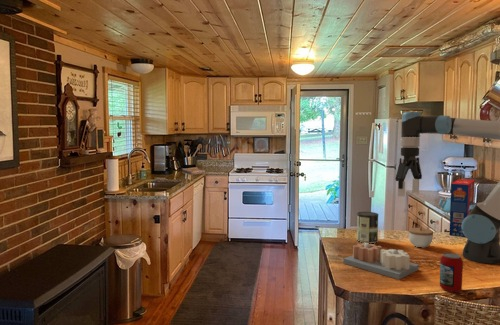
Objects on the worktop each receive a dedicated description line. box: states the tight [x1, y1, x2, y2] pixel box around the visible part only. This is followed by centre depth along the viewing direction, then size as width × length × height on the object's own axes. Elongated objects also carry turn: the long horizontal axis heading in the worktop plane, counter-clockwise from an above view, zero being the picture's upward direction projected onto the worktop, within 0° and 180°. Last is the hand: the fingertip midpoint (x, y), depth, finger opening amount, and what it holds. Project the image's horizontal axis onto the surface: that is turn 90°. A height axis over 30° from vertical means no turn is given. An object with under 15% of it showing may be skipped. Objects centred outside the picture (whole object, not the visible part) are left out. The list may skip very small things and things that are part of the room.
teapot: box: [438, 197, 451, 214], centre depth 267 cm, size 15×15×11 cm
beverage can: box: [439, 252, 464, 293], centre depth 130 cm, size 7×7×12 cm
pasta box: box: [448, 178, 476, 239], centre depth 210 cm, size 28×8×28 cm, turn 144°
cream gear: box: [380, 248, 411, 270], centre depth 148 cm, size 10×10×5 cm
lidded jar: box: [408, 226, 434, 249], centre depth 181 cm, size 11×11×9 cm
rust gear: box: [352, 242, 382, 263], centre depth 157 cm, size 10×10×5 cm
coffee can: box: [356, 211, 379, 244], centre depth 190 cm, size 10×10×14 cm
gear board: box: [343, 243, 420, 280], centre depth 153 cm, size 24×16×8 cm, turn 42°
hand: (408, 194), depth 168 cm, fingers open, 13 cm apart
